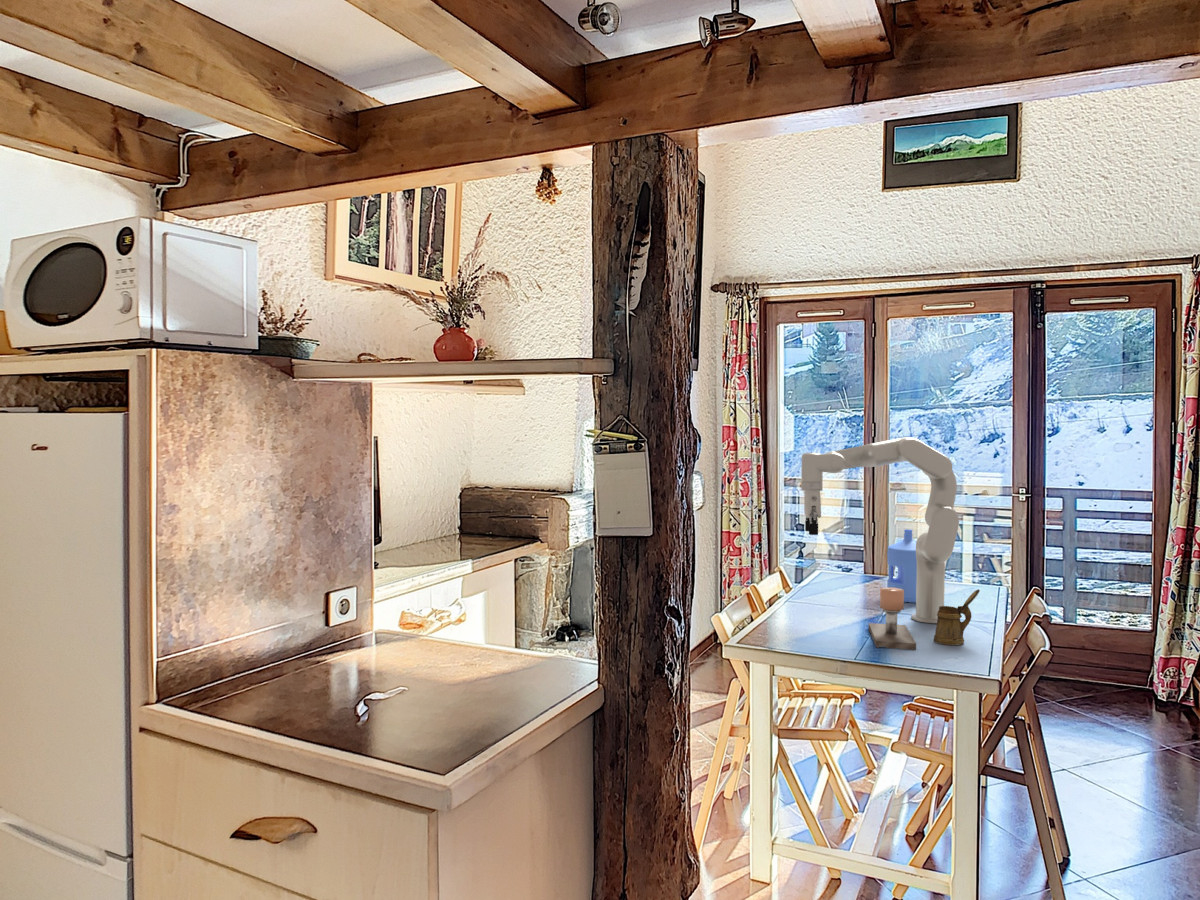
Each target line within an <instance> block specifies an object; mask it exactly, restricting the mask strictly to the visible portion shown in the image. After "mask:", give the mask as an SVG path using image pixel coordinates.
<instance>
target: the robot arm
mask: <svg viewBox="0 0 1200 900" xmlns="http://www.w3.org/2000/svg"><path fill="white" fill-rule="evenodd" d="M902 462H908V463H910V464H911V465H912V466H914V467H916V468H918V469H919V470H921V471H922V472H923V474H924V475H926V476H928V479H929V480H930V494H929V497H928V502H927V506H926V508H925V509H926V510H925V513H924V521H925V523H926V525H927V526H928V530H927V532H924V533H921V535H919V537H918V538H917V539H916V541H915V542H916V560H917V578H916V603H915V612H914V613H911V614H910V616H911V617H910V618H911V619H912V620H913V621H916V622H919V623H926V624H937V619H938V616H937V613H938V611H939V607H940V606H945V589H946V588H945V582H946V580H945V579H946V565H945V562H946V561H948V560H949V559H950V558H951V556H952V553H953V550H954V547H955V542H956V539H957V535H958V531H959V526H960V519H959V518H960V517H959V515H958V513H957V511H956V510H955V509H954V507H955V501H956V496H957V488H958V487H957V486H958V485H957V479H956V478H957V477H956V475H955V473H954V471H953V463H952V461H951V459H950V458H949V457H948V456H946V455H945V454H943V453H941V452H939V451H938V450H936V449H934V448H932V447H931V446H929V445H927V444H926V443H924V442H923V441H921V440H919V439H918V438H914V437H910V436H909V437H904V436H903V437H899V438H895V439H890V440H889V439H888V440H884V441H879V442H873V443H866V444H863V445H859V446H853V447H848V448H847V447H846V448H843V449H837V450H833V451H828V452H825V453H819V452H804V453H803V454H802V455H801V479H800V480H801V485H800V486H801V491H804V494H803V495H804V496H803V500H804V501H803V502H804V503H803V507H804V515H805V522H804V525H805V526H804V527H805V528H804V529H805V532H808V535H810V536H818V535H819V519H821V518H822V508H821V507H822V500H821V492H823V485H824V484H823V477H824V476H823V473H828V474H839V473H841V472H842V471H843V470H846V469H847V470H849V469H854V468H873V467H874V468H875V467H880V466H881V467H882V466H887V465H890V464H891V465H892V464H896V463H897V464H898V463H902Z"/></svg>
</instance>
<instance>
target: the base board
mask: <svg viewBox="0 0 1200 900" xmlns="http://www.w3.org/2000/svg"><path fill="white" fill-rule="evenodd" d="M868 631H869V633H871V634H870V636H871V638H873V639H872V641H873V640H874V641H873V643H874V646H875V645H876V646H875V647H876V648H879V647H886V648H885V649H896V648H899V650H913V651H914V650H917V642H916V641H915V639H914V637H913V635H912V634H911V632H910V631H909V629H908V627H907V625H905V624H897V634H888V633H886V623H876V622H875V623H872V622H868Z"/></svg>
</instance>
